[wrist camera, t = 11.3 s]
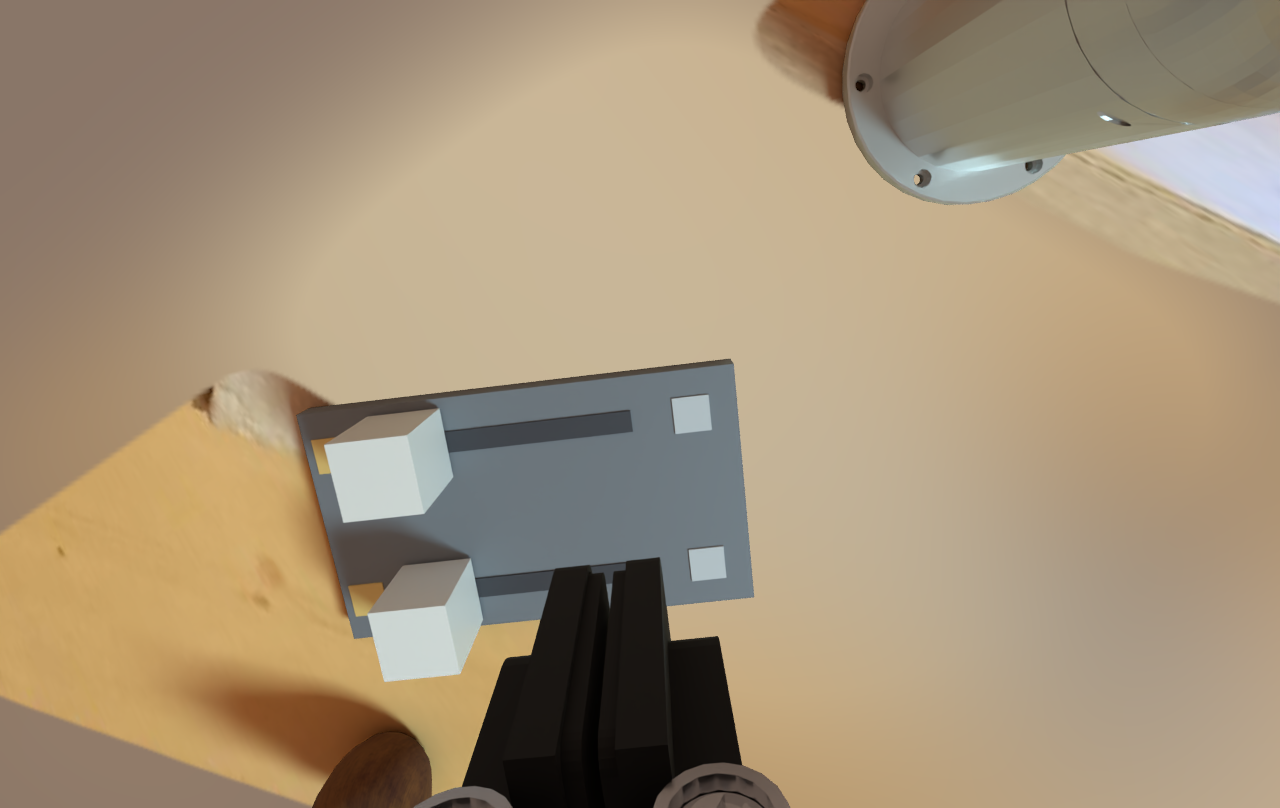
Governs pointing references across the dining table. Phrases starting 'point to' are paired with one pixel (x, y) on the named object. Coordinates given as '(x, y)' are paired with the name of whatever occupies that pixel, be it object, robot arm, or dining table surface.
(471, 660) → the dining table surface
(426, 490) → the tab near
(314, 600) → the dining table surface
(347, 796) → the wooden figurine
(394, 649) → the tab far
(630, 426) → the switch panel
